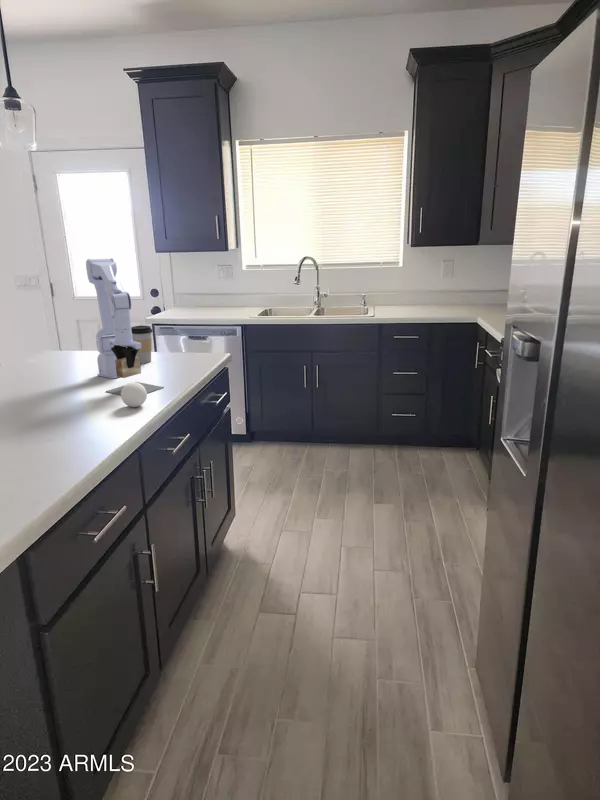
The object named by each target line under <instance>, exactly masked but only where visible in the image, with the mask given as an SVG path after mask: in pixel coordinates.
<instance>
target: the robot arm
mask: <svg viewBox="0 0 600 800" xmlns="http://www.w3.org/2000/svg"><path fill="white" fill-rule="evenodd" d="M85 266H86V267H85V268H86V269H85V270H86V274H87V279H88V282H89V283H90V284H92V285H94V288H95V290H96V291H95V293H96V297H97V304H98V310H99V315H100V321H101V327H102V328H100V330H98V331H97V333H96V336H95V338H96V348H97V351H98V352H99V353H98V356H97V361H96V362H97V367H98V373H97V374H96V376H97V377H103V378H107V379H108V378H109V379H117V378H118V377H117V374H116V364H115V360H118V359H122V358H126V361H127V366H128V368H132V367H134V362H135V357H136V354H137V352H138V350H139V349H141V348H142V347H141V343H139V342H136V341H133V339H132V329H131V327H132V323H131V322H132V321H131V313H130V310H132V300H131V296H130V293H129V292H127V291H125V290H124V287H123V286H122V284H121V282H120V281H119V280H117V279H116V275H117V272H118V271H117V262H116V260H115V259H114V258H112V257H111V258H93V259H92V258H91V259H90V258H87V259H86V261H85Z"/></svg>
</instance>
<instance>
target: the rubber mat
mask: <svg viewBox="0 0 600 800" xmlns="http://www.w3.org/2000/svg"><path fill="white" fill-rule="evenodd" d="M135 382H136V383H139V384H141V385H143V386H144V388H145V389H146V392H147V395H148V394H150V393H153V392H157V391H159V390H162V389H164V388H165V387H164V386H159V385H156V384H155V385H154V384H150V383H144V382H139V381H135ZM125 385H126V384H125ZM125 385H121V386H118V387H116V388H112V389H109V390H106V391H105V393H107V394H108V393H109V394H112V395H117V396H121V391H122V389H123V387H124V386H125ZM161 388H162V389H161Z"/></svg>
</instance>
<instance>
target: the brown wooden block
mask: <svg viewBox="0 0 600 800" xmlns="http://www.w3.org/2000/svg"><path fill="white" fill-rule="evenodd" d="M115 364H116V374H117V378H119V379H120V378H121V379H125V378H130V377H133V376H135V375H136V376H137V375H140V374H142V368H141V363H140V357H137V356H136V357H135V362H134V367H132V368H128V366H127V361H126V358H122V359H118V360H115Z"/></svg>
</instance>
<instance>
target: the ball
mask: <svg viewBox="0 0 600 800" xmlns="http://www.w3.org/2000/svg"><path fill="white" fill-rule="evenodd" d="M136 382H137V381H132V382H131V381H130V382H128V383H126V384H125V386H124V385H123V386H124V387H123V389H122V391H121V395H120V397H121V400H122V402H123V404H124V405H125V406H128V407H131V408H136V407H140V406H142V405H143V404H144V403H145V402H146V400H147V396H148V394H147V392H146V389H145V388H144V386H143V385H141V384H139V383H136Z"/></svg>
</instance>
